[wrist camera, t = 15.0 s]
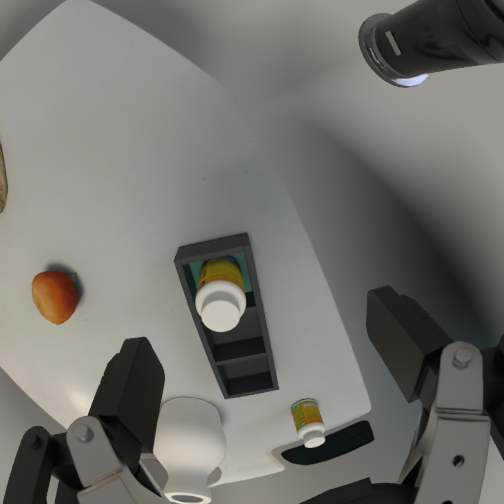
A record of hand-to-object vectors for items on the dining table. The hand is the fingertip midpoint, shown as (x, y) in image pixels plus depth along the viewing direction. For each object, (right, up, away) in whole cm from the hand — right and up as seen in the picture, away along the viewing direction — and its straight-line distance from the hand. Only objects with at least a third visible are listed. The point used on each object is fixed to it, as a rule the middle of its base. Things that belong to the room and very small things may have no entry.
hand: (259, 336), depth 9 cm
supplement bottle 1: (-4, 0, +28) cm, 28 cm away
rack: (-3, -7, +32) cm, 32 cm away
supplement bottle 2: (+10, -29, +42) cm, 52 cm away
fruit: (-29, -2, +27) cm, 40 cm away
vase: (-13, -30, +40) cm, 51 cm away
